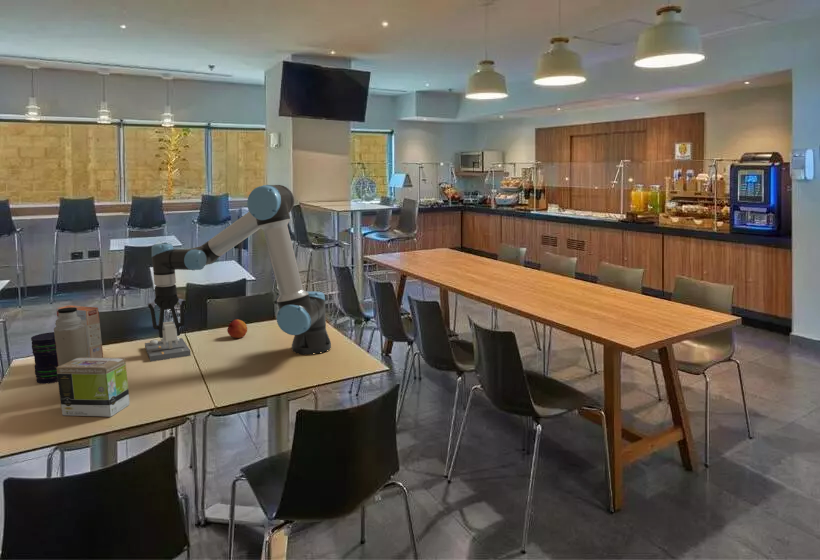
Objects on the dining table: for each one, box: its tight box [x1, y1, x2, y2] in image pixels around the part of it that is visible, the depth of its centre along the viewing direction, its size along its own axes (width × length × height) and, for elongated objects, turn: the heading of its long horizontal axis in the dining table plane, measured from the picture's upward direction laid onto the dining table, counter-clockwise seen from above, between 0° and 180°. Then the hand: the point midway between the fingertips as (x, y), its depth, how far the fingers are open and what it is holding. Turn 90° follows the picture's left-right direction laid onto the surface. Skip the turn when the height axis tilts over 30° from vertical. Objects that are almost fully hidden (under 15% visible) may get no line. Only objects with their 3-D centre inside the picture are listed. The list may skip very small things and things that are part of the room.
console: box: [144, 336, 192, 362], centre depth 223 cm, size 20×14×4 cm
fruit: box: [226, 318, 248, 339], centre depth 241 cm, size 8×8×8 cm
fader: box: [162, 320, 176, 349], centre depth 219 cm, size 6×4×10 cm, turn 30°
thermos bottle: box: [53, 307, 88, 366], centre depth 175 cm, size 8×8×28 cm
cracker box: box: [56, 304, 104, 358], centre depth 208 cm, size 14×6×21 cm, turn 71°
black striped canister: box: [30, 331, 58, 385], centre depth 192 cm, size 10×10×15 cm
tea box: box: [56, 357, 130, 418], centre depth 166 cm, size 15×10×15 cm, turn 84°
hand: (170, 344), depth 219 cm, fingers closed on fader, 3 cm apart
